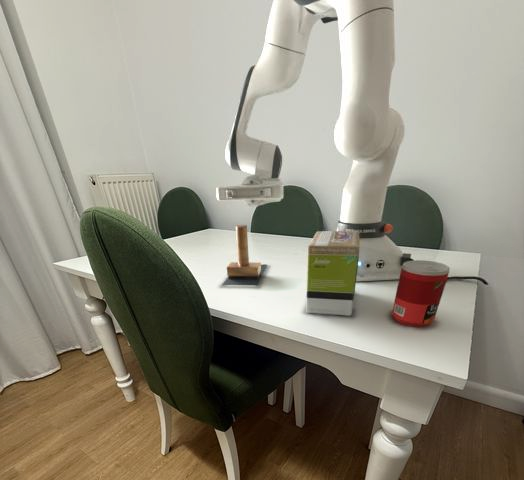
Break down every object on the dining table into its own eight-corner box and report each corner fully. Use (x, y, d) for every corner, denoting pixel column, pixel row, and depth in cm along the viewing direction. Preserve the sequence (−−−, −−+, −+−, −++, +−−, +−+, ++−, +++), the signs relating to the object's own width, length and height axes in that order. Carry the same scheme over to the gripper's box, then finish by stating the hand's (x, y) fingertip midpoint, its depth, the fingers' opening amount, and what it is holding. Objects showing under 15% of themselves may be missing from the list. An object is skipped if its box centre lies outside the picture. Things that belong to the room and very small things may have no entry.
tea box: (313, 289, 76) (316, 229, 68) (353, 292, 73) (361, 229, 66) (304, 313, 64) (307, 243, 56) (351, 317, 61) (362, 244, 53)
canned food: (431, 331, 55) (448, 274, 49) (387, 322, 59) (398, 268, 53) (435, 315, 61) (451, 262, 55) (394, 308, 64) (406, 258, 58)
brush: (261, 274, 87) (259, 223, 79) (258, 279, 83) (256, 227, 75) (231, 273, 88) (227, 224, 81) (227, 279, 84) (222, 227, 76)
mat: (267, 266, 96) (267, 264, 95) (257, 287, 79) (257, 285, 79) (237, 266, 97) (237, 264, 97) (222, 286, 80) (222, 284, 80)
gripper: (221, 181, 93) (208, 183, 81) (285, 177, 90) (281, 179, 78) (224, 203, 96) (211, 207, 84) (285, 200, 93) (281, 205, 81)
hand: (245, 194), depth 81 cm, fingers open, 8 cm apart
